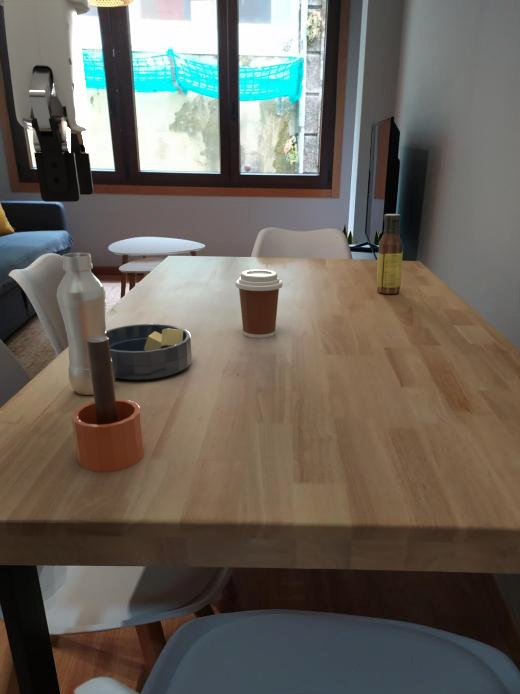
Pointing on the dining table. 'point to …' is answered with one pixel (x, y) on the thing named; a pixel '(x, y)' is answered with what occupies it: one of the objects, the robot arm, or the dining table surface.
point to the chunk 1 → (154, 342)
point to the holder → (108, 437)
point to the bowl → (146, 353)
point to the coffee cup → (259, 302)
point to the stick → (102, 379)
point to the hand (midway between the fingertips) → (70, 197)
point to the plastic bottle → (81, 316)
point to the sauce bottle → (390, 257)
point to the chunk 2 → (171, 337)
